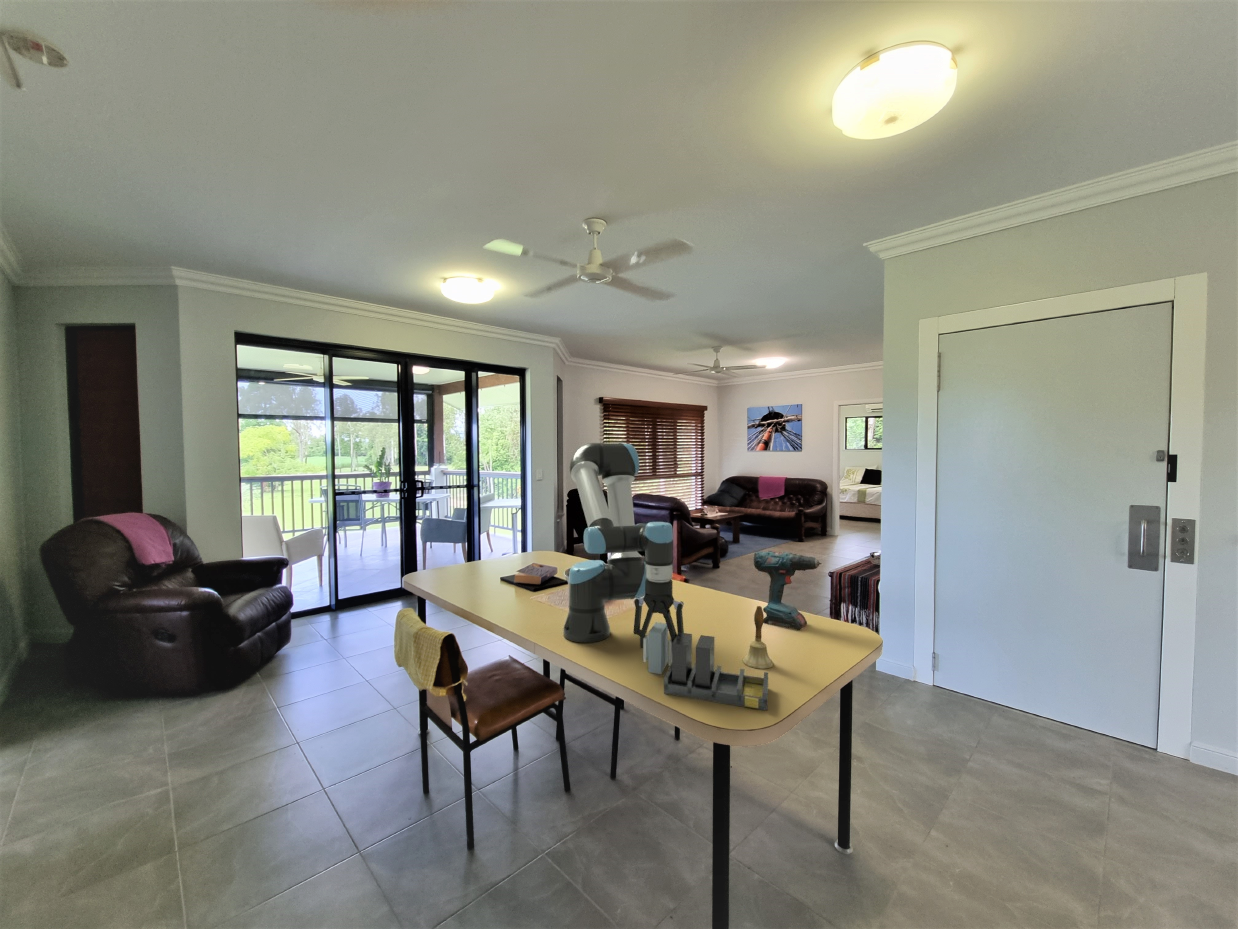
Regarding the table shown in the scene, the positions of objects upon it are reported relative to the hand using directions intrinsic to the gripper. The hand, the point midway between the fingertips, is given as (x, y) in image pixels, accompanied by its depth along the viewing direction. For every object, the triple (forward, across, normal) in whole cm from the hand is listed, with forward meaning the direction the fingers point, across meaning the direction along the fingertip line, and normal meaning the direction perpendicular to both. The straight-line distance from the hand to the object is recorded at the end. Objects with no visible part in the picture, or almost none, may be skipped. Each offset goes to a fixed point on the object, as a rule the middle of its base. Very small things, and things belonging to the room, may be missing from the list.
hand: (658, 661), depth 133 cm
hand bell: (+2, +26, +12) cm, 29 cm away
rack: (+1, +17, -8) cm, 19 cm away
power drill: (+2, +34, +48) cm, 59 cm away
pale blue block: (+2, 0, 0) cm, 2 cm away
